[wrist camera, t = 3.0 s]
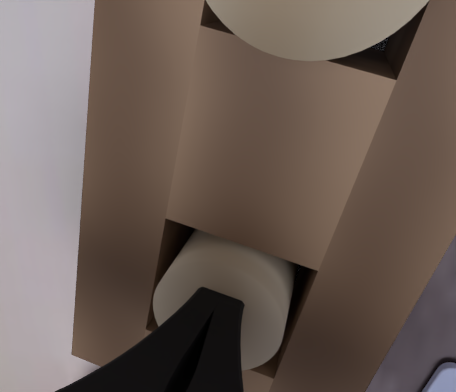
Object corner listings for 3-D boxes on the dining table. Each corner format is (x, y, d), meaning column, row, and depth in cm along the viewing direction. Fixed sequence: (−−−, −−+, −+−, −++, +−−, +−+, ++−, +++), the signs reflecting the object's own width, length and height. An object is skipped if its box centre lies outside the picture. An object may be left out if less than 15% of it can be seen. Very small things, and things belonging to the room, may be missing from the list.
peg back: (315, 215, 15) (301, 292, 11) (284, 298, 17) (263, 388, 13) (210, 180, 16) (163, 243, 12) (191, 264, 18) (144, 342, 14)
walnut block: (622, -238, 10) (830, -415, 6) (333, 352, 19) (327, 457, 15) (216, -307, 11) (127, -495, 7) (131, 278, 21) (71, 354, 16)
